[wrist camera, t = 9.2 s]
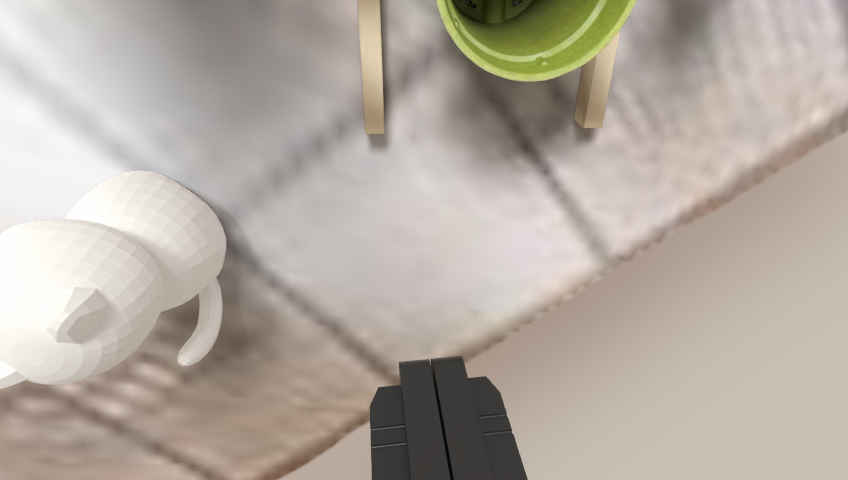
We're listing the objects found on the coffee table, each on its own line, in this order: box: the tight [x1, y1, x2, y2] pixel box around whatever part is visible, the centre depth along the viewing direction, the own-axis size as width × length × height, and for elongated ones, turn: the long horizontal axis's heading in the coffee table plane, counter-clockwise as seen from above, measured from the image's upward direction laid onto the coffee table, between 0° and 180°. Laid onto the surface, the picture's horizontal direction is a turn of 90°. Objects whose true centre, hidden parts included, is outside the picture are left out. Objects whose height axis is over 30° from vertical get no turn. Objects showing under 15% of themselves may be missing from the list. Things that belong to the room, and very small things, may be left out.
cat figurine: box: [0, 170, 226, 389], centre depth 28 cm, size 9×12×15 cm
